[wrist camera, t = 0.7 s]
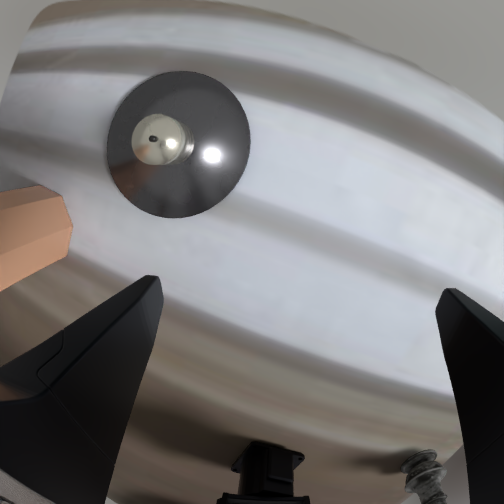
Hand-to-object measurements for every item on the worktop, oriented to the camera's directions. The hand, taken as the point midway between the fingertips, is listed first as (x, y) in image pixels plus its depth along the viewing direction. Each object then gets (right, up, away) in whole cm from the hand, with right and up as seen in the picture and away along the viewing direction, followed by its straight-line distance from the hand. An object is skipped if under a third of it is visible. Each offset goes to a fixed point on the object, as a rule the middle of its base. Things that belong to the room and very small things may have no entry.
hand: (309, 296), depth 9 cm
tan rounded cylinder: (-21, +4, +15) cm, 26 cm away
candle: (-7, +9, +12) cm, 17 cm away
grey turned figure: (+20, -26, +20) cm, 39 cm away
